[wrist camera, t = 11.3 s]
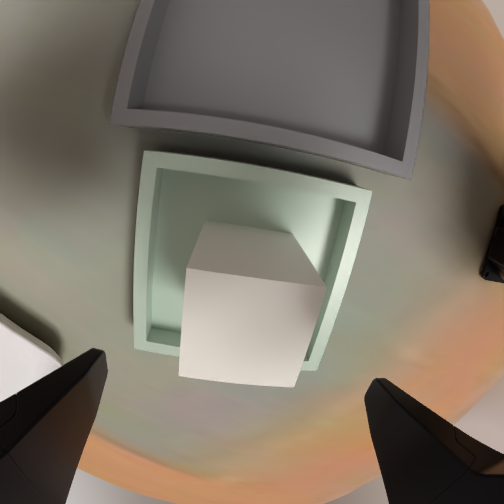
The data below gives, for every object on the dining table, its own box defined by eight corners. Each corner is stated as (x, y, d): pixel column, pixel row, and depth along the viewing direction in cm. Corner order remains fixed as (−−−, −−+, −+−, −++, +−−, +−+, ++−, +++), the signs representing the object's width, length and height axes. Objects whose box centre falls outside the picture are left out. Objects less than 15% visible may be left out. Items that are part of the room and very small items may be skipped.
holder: (357, 186, 17) (372, 191, 15) (309, 351, 21) (316, 370, 19) (155, 150, 16) (143, 150, 14) (142, 329, 20) (134, 348, 17)
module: (292, 233, 17) (327, 287, 11) (275, 309, 19) (293, 387, 12) (205, 220, 17) (186, 267, 10) (195, 298, 18) (178, 375, 12)
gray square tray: (406, -19, 12) (426, -35, 9) (386, 174, 17) (411, 180, 14) (188, -69, 10) (183, -93, 7) (129, 127, 15) (109, 124, 12)
